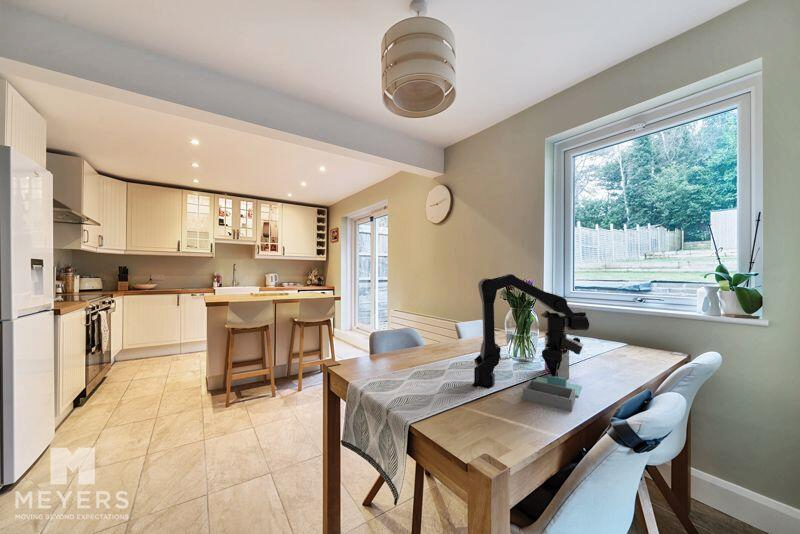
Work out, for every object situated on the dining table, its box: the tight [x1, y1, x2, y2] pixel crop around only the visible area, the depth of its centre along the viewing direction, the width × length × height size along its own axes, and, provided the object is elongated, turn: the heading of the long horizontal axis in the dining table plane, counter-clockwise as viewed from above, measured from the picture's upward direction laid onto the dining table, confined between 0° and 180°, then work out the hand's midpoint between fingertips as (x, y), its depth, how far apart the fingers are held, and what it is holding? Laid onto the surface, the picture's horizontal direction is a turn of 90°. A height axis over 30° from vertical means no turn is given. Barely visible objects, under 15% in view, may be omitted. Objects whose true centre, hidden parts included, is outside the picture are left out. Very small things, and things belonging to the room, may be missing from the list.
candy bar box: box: [544, 331, 570, 380], centre depth 123 cm, size 11×5×16 cm, turn 179°
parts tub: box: [522, 379, 576, 412], centre depth 98 cm, size 14×10×4 cm
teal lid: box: [534, 374, 582, 399], centre depth 108 cm, size 15×11×5 cm
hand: (555, 372), depth 108 cm, fingers open, 9 cm apart
